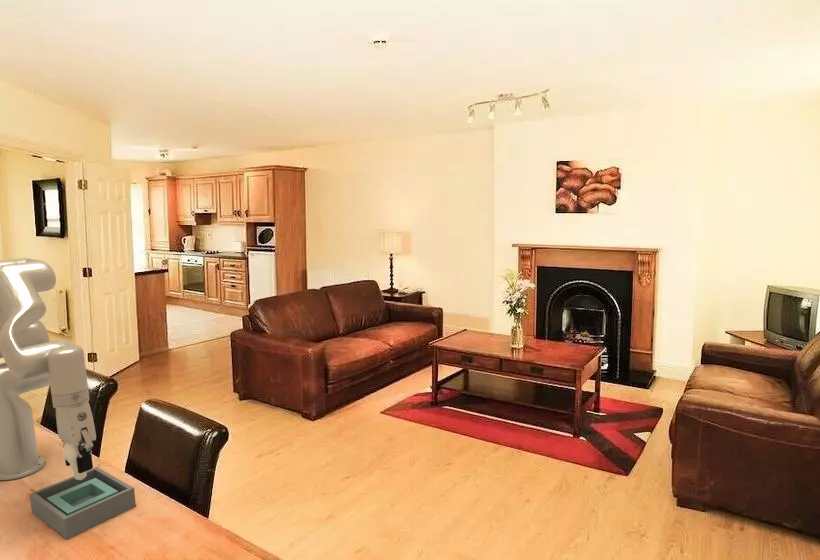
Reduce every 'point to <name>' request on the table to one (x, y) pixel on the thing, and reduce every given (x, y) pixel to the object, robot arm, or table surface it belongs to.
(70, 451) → the lightbulb
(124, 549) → the table surface
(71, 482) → the open box
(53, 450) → the table surface
